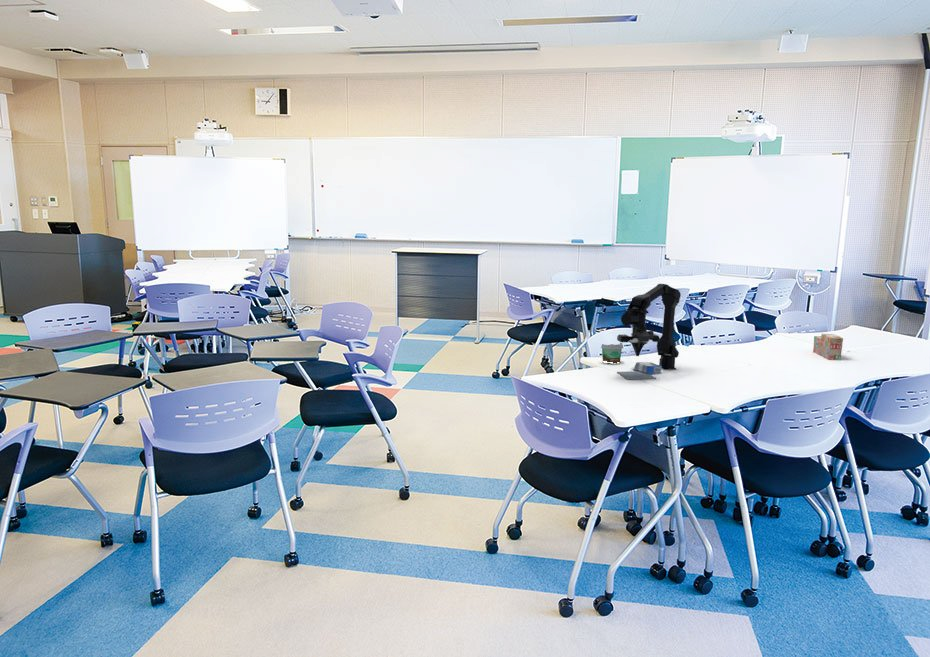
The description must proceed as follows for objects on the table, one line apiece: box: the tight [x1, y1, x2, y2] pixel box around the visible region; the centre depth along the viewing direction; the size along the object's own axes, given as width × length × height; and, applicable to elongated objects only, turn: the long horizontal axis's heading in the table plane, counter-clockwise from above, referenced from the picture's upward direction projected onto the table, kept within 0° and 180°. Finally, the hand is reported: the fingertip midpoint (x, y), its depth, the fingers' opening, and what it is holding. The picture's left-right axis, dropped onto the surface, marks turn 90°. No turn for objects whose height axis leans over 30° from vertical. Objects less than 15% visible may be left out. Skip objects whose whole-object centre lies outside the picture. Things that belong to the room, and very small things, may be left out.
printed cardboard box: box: [812, 333, 844, 361], centre depth 351 cm, size 21×6×12 cm, turn 172°
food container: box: [600, 342, 624, 363], centre depth 331 cm, size 12×6×10 cm, turn 112°
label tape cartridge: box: [632, 361, 662, 374], centre depth 314 cm, size 9×4×12 cm
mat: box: [616, 370, 657, 381], centre depth 305 cm, size 14×14×1 cm
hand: (637, 356), depth 304 cm, fingers closed
